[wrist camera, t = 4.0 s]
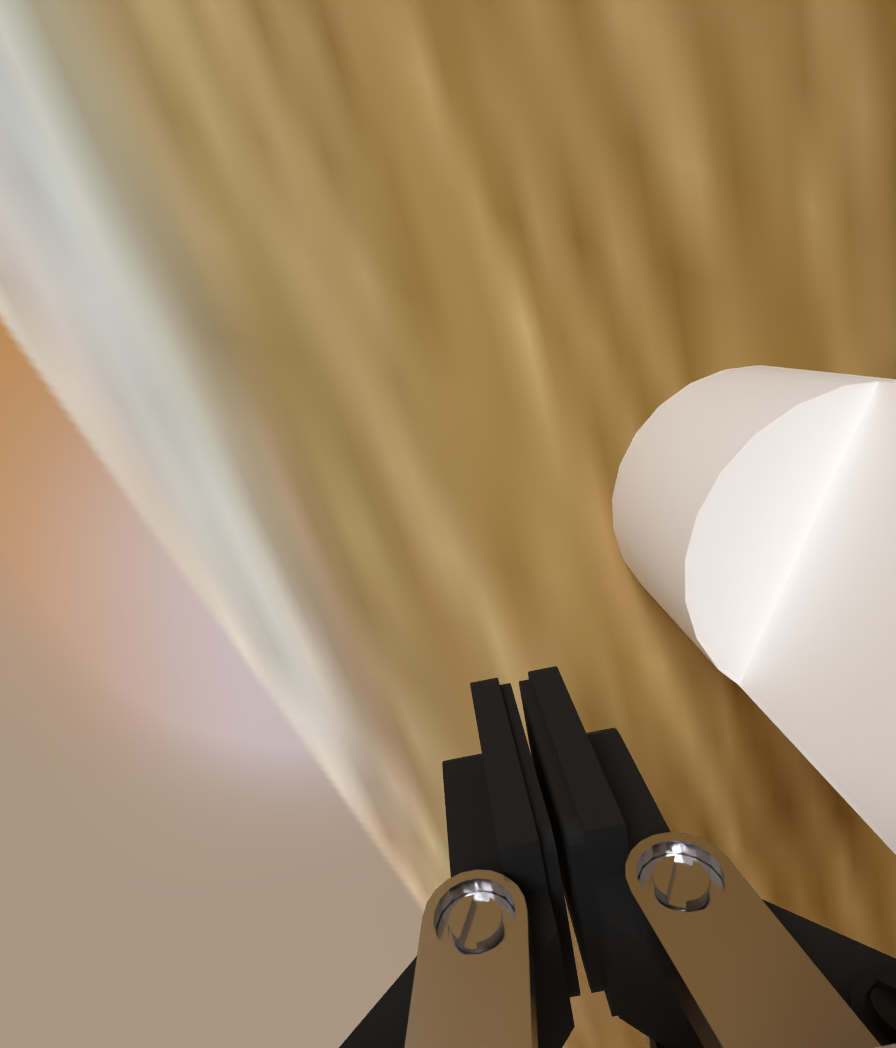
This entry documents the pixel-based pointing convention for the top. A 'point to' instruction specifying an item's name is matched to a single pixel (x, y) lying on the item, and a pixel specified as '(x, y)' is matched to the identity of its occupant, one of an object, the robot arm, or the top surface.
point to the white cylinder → (781, 555)
